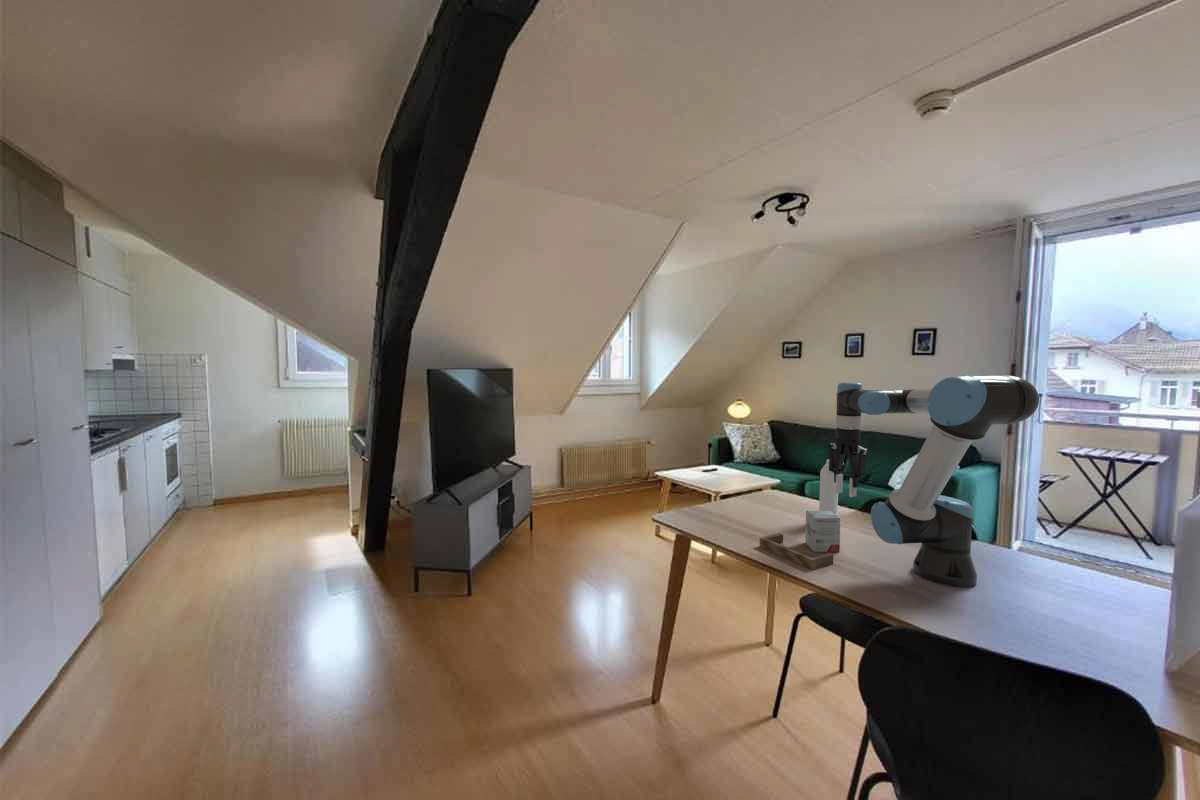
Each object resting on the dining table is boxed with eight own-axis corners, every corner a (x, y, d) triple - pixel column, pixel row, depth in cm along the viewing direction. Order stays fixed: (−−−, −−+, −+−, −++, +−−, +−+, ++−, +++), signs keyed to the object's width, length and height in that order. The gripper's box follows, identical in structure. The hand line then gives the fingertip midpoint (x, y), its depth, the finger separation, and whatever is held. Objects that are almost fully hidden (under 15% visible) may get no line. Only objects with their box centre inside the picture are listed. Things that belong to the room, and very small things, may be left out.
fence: (833, 563, 148) (833, 554, 148) (812, 570, 144) (812, 560, 144) (779, 541, 167) (779, 533, 167) (759, 546, 163) (759, 537, 162)
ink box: (830, 543, 165) (831, 509, 164) (840, 553, 157) (841, 517, 156) (804, 542, 166) (805, 509, 165) (812, 552, 158) (813, 517, 157)
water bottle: (815, 522, 187) (817, 459, 184) (825, 519, 190) (827, 457, 188) (835, 528, 179) (837, 463, 177) (846, 525, 182) (848, 461, 180)
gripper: (880, 430, 157) (877, 499, 159) (832, 424, 173) (830, 487, 175) (865, 431, 154) (862, 502, 156) (818, 425, 169) (816, 489, 171)
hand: (845, 494), depth 165 cm, fingers open, 4 cm apart
